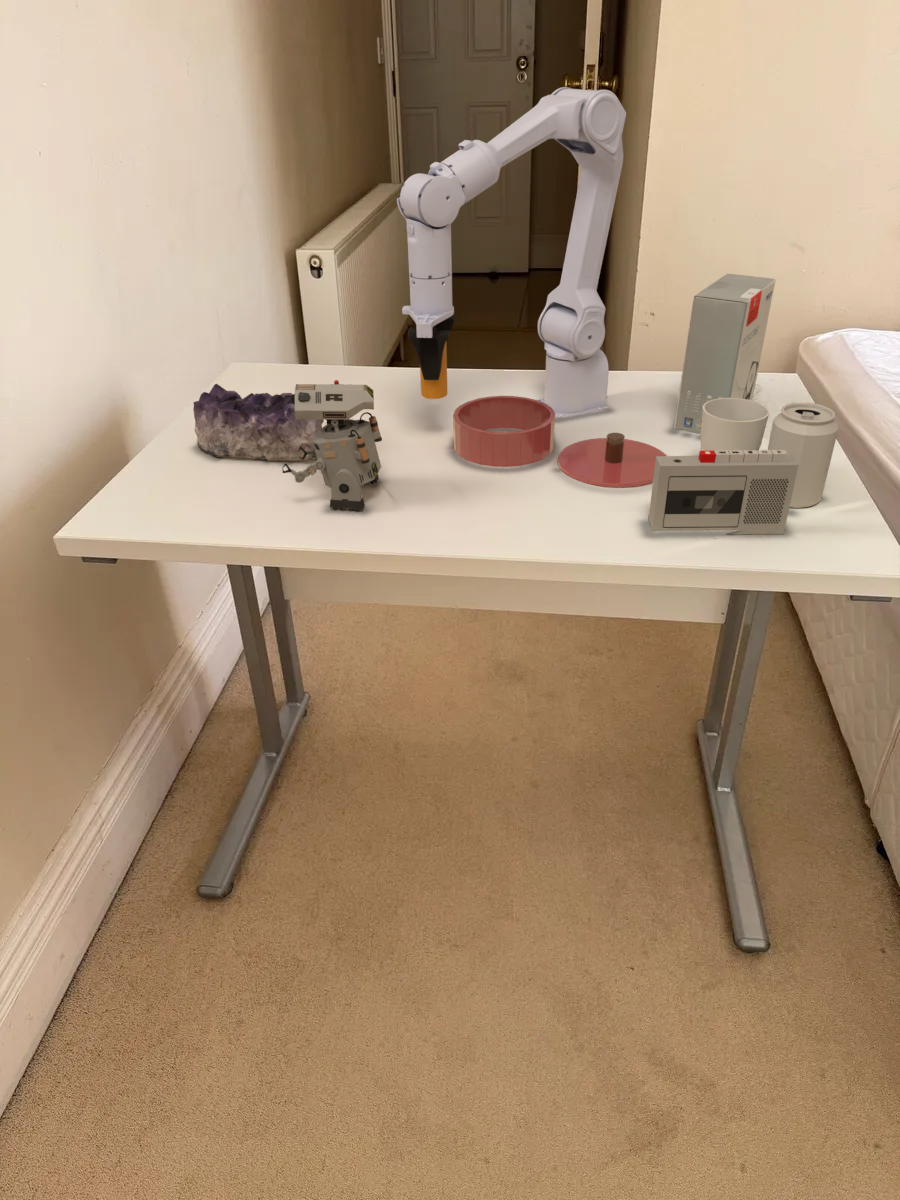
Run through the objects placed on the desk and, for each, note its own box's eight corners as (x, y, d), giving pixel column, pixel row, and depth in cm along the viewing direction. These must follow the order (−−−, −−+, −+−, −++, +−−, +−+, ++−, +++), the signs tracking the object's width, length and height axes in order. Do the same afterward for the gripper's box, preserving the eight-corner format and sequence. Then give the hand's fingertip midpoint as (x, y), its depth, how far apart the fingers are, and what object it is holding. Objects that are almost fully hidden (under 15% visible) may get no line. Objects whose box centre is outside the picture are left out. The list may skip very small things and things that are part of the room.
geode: (182, 467, 122) (169, 396, 118) (211, 444, 133) (200, 379, 128) (321, 465, 120) (313, 393, 116) (339, 442, 130) (333, 375, 126)
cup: (759, 473, 117) (773, 402, 111) (750, 498, 110) (764, 425, 105) (699, 463, 119) (709, 394, 114) (686, 488, 113) (697, 416, 108)
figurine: (308, 477, 118) (295, 371, 110) (389, 482, 117) (382, 374, 108) (287, 508, 111) (271, 396, 103) (373, 513, 109) (364, 400, 101)
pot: (525, 423, 133) (526, 389, 130) (571, 458, 122) (573, 422, 119) (439, 439, 128) (438, 405, 125) (479, 478, 117) (478, 441, 114)
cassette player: (651, 534, 103) (661, 458, 98) (647, 524, 106) (656, 448, 100) (783, 533, 103) (800, 456, 97) (776, 523, 105) (793, 446, 99)
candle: (441, 388, 126) (440, 333, 122) (451, 396, 123) (450, 340, 119) (417, 392, 125) (414, 337, 120) (427, 400, 122) (424, 344, 117)
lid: (629, 437, 127) (632, 408, 125) (691, 478, 116) (696, 446, 113) (538, 456, 123) (539, 425, 120) (593, 500, 111) (596, 467, 108)
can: (819, 490, 112) (841, 402, 105) (820, 516, 106) (843, 424, 99) (759, 483, 114) (776, 396, 107) (757, 508, 108) (774, 418, 102)
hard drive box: (723, 442, 125) (746, 302, 114) (672, 432, 129) (690, 295, 118) (752, 407, 136) (776, 276, 125) (705, 399, 140) (724, 271, 129)
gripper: (409, 261, 121) (413, 357, 129) (391, 287, 109) (397, 391, 117) (459, 262, 120) (460, 357, 128) (446, 288, 108) (448, 392, 116)
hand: (433, 373), depth 122 cm, fingers closed on candle, 4 cm apart
